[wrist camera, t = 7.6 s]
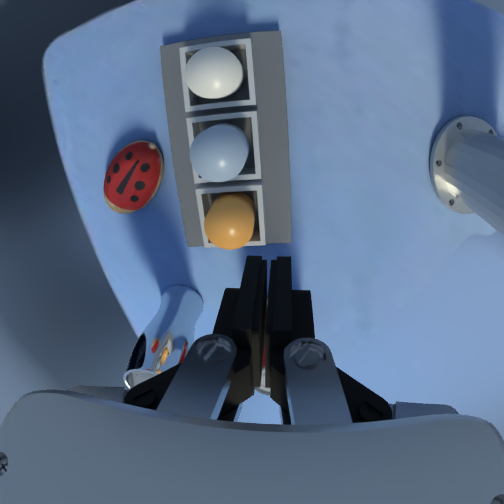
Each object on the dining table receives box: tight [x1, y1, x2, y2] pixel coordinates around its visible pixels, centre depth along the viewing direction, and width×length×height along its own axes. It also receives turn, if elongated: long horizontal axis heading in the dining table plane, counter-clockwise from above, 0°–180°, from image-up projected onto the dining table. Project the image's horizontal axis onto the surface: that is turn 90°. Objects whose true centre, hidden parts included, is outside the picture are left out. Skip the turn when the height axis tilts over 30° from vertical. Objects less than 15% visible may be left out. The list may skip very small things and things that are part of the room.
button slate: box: [190, 123, 250, 182], centre depth 24 cm, size 5×5×4 cm
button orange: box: [204, 191, 256, 249], centre depth 29 cm, size 5×5×4 cm
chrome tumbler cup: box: [123, 285, 204, 389], centre depth 34 cm, size 7×7×15 cm
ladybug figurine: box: [104, 140, 164, 213], centre depth 30 cm, size 7×10×4 cm
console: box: [160, 31, 292, 248], centre depth 28 cm, size 12×23×4 cm, turn 4°
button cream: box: [185, 47, 245, 98], centre depth 22 cm, size 5×5×4 cm
